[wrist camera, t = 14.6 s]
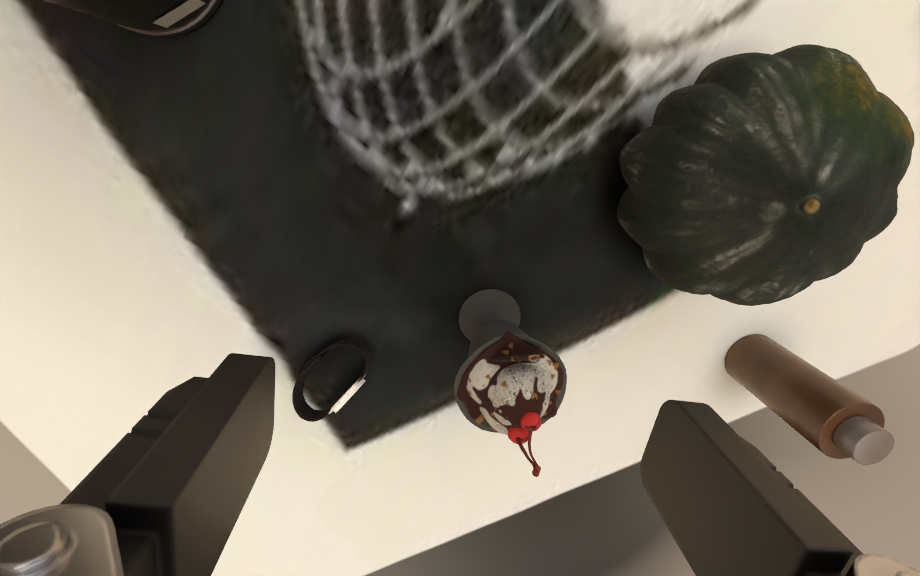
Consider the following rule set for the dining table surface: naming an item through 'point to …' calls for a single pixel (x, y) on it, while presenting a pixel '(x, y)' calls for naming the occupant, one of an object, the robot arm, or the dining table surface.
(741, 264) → the squash
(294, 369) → the dining table surface
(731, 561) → the robot arm
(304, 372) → the watch
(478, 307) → the sundae
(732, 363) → the pepper mill
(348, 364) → the dining table surface
